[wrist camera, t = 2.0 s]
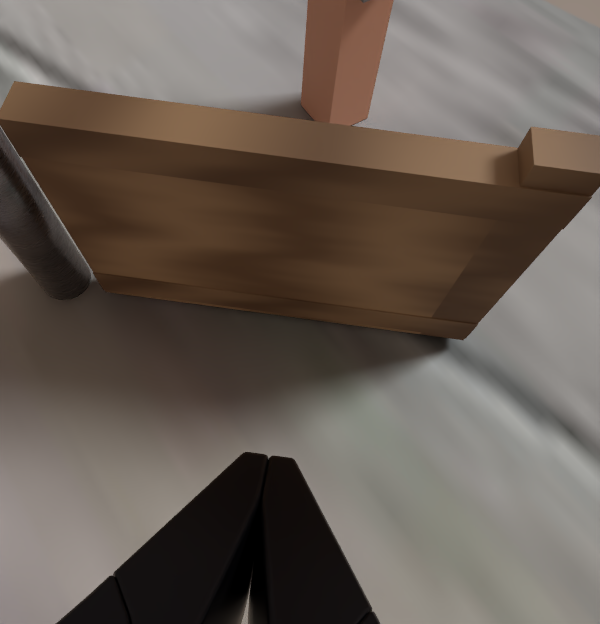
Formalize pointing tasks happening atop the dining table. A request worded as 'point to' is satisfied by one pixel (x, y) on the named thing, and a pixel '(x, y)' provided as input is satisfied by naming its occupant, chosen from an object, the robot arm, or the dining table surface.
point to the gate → (297, 207)
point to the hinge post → (37, 231)
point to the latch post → (342, 58)
